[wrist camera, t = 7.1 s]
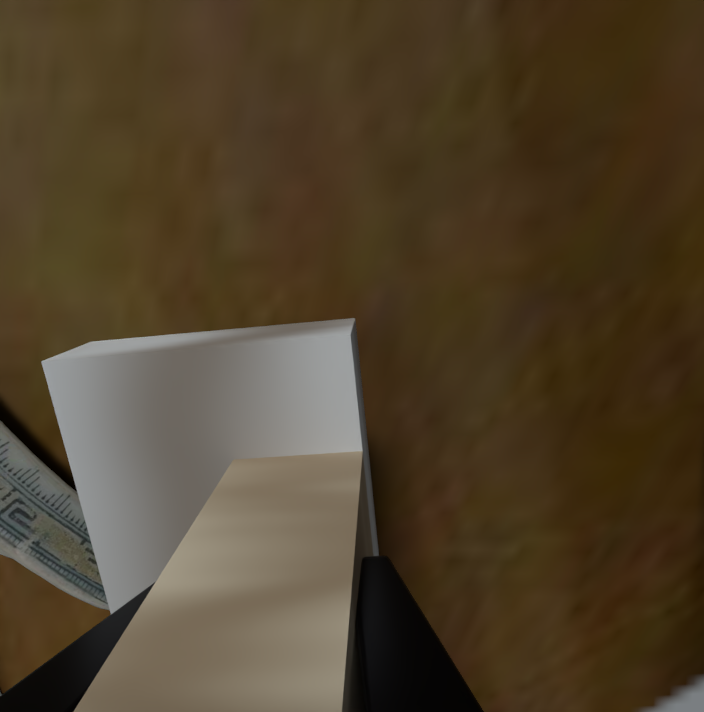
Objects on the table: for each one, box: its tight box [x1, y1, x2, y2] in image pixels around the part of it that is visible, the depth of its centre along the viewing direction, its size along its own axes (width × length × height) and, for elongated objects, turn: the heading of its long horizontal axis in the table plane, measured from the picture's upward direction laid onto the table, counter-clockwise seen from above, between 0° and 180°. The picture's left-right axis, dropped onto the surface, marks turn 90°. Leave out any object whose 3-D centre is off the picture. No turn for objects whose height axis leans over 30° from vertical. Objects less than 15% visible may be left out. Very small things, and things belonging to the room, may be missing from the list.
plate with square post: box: [41, 318, 379, 712], centre depth 7 cm, size 6×7×9 cm
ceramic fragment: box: [0, 420, 110, 610], centre depth 14 cm, size 14×5×4 cm, turn 38°
